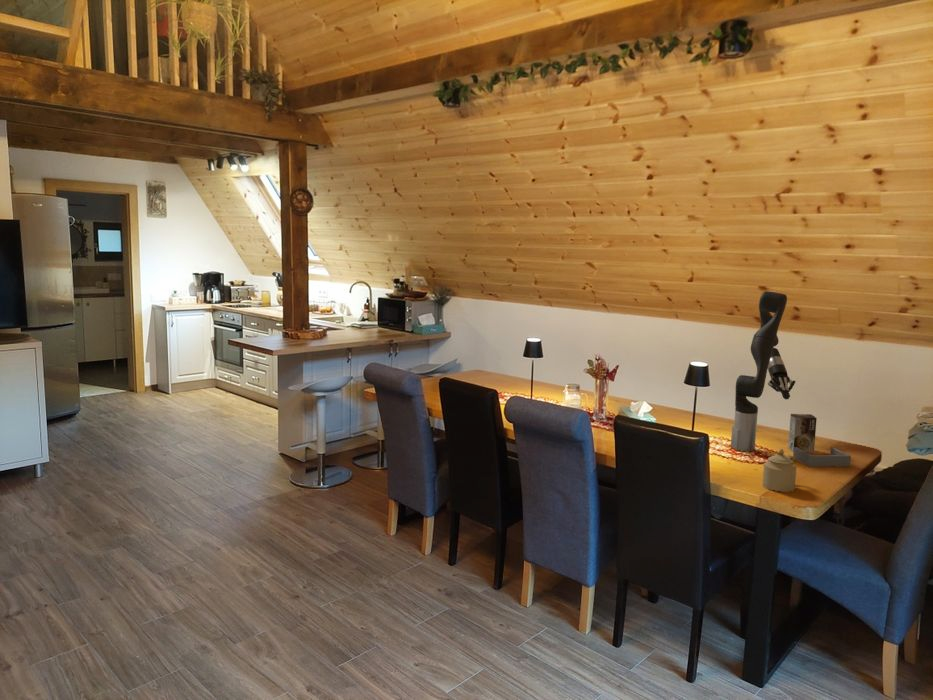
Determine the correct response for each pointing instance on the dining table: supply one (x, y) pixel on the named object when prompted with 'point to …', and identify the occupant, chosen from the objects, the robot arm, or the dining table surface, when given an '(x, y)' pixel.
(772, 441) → the dining table surface
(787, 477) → the sugar bowl
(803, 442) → the coffee box
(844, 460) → the box
